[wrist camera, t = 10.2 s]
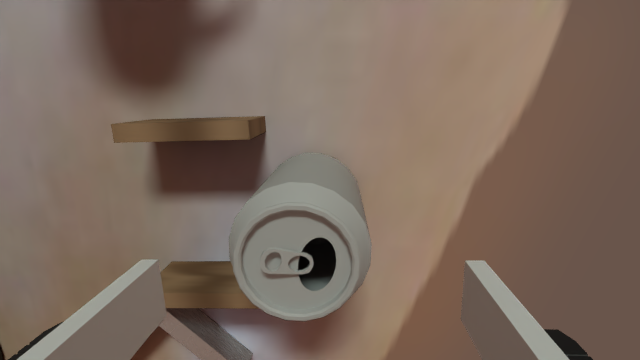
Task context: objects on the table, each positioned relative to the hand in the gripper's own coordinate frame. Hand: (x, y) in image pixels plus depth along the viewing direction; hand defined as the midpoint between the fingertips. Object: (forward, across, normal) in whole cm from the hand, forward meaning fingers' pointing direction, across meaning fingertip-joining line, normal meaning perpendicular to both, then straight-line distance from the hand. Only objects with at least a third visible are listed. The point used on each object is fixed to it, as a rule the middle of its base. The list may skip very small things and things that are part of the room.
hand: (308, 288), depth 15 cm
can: (+14, -1, 0) cm, 14 cm away
